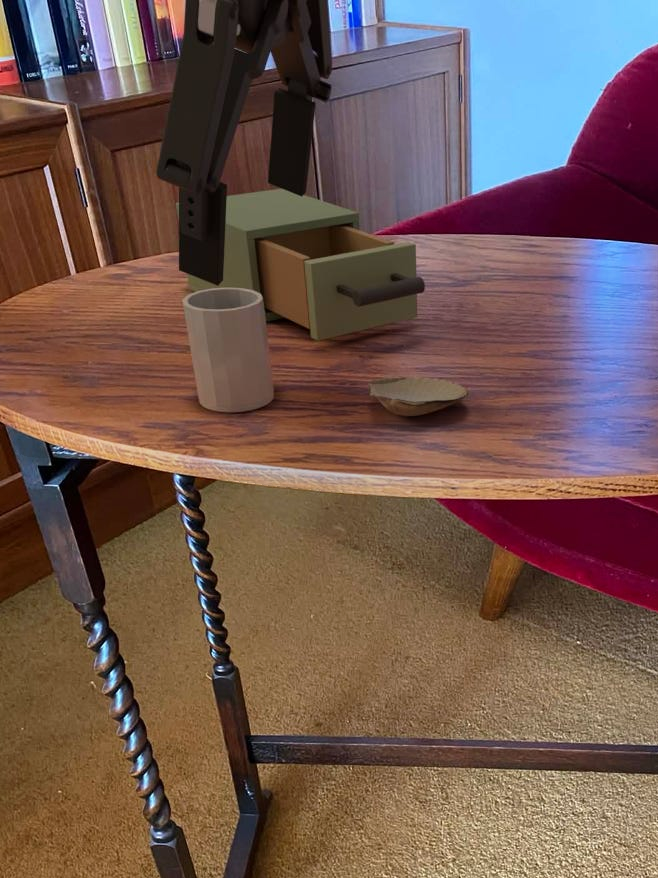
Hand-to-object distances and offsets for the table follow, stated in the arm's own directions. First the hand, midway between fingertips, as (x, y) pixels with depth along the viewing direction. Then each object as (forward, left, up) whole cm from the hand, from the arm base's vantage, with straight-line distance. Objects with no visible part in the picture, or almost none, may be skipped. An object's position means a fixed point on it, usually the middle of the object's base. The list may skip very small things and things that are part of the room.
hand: (246, 229), depth 66 cm
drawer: (-16, +17, -13) cm, 27 cm away
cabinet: (-29, +17, -14) cm, 37 cm away
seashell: (+5, +10, -14) cm, 18 cm away
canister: (-6, 0, -14) cm, 15 cm away
